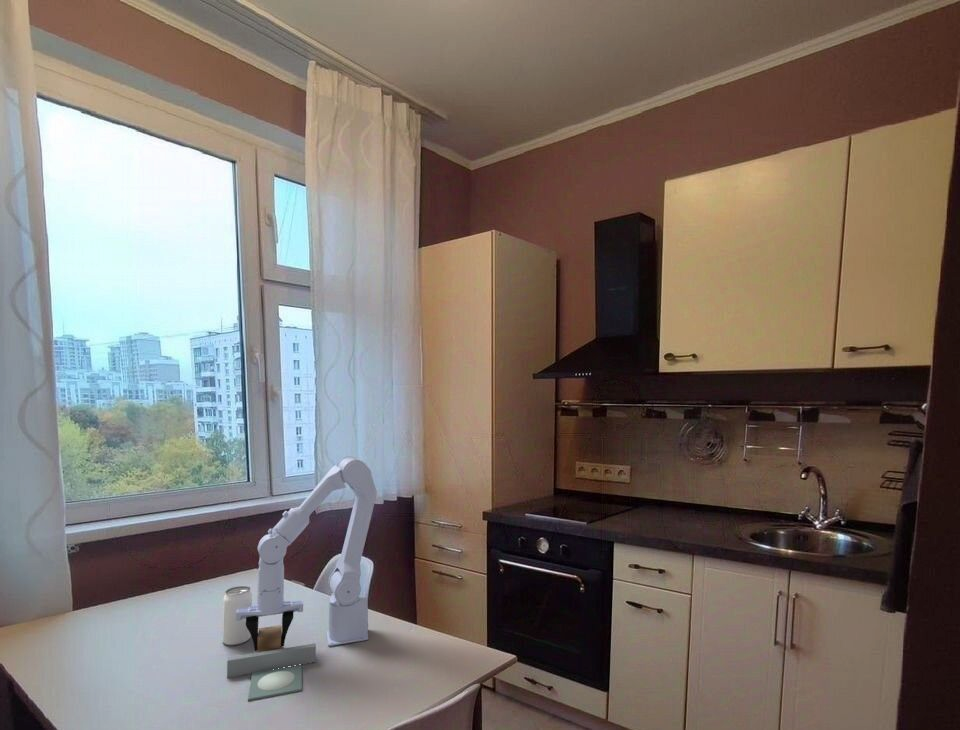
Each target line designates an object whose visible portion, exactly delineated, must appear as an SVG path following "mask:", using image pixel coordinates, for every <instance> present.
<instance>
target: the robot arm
mask: <svg viewBox="0 0 960 730" xmlns="http://www.w3.org/2000/svg"><path fill="white" fill-rule="evenodd" d="M345 484H347V485H348V486H349V488H350V489H351V491H352V492H353V494H354V495H355V498H354V502H353V506H352V511H351V513H350V517H349V518H350V519H349V522H348V525H347V530H346V534H345V537H344V543H343V546H342V550H341V553H340V558H339V559H338V560H337V562H336V564H335V568H334V569H333V570H332V571H333V572H331V574H330V575H329V578H328V582H327V583H328V588H329V589H330V591H332V592H331V595H330V597H329V599H328V603H329V604H328V630H326V634H325V635H326V642H327V646H328V647H331V646H332V647H333V646H339V645H345V644H350V643H355V642H356V643H357V642H363V641H368V640H369V612H368V611H369V610H368V608H369V607H368V599H367V597H362V596H360V595H361V591H362V588H361V583H360V582H361V575H362V573H361V572H362V571H361V560H362V557H363V552H364V548H365V543H366V539H367V536H368V535H367V534H368V533H369V532H368V531H369V528H370V523H371V519H372V515H373V510H374V507H375V503H376V498H377V489H376V488H377V487H376V485H375V483H374V479H373V475H372V470H371V469H370V468H369V467H368V465H367V464H366V463H365V462H364V461H362V460H360V459H357V458H356V457H354V456H344V457H342V458H341V459H339V461H338V462H337V463H336V465H335V464H334V465H333V466H332V467H331V468H330V469H329V470H328V472H327V473H326V474H325V475H324V476H323V477H322V479H321V480H320V481H319V482H318V484H317V485H316V487H314V489H313V490H312V491H311V492H310V493H309V494H308V495H307V497H305V499H304V500H303V502H302V503H301V504H300V505H299V506H297V507H291V508H290V509H289V510H288V511H287V510H285V511H284V512H283V513H282V517H281V519H280V520H279V521H278V522H277V523H276V525H275V526H273V528H271V527H270V528H269V529H268V531H267V534H265V535H263V537H261V539H260V540H259V542H258V545H257V547H256V548H257V552H258V555H259V561H258V569H257V604H255V605H252V606H251V607H247V608H242V609H237V611H236V621H240V620H241V619H246V627H247V629H248V630H249V632H250V634H251V637H250V638H251V639H252V642H253V649H254V651H255V652H256V651H257V642H258V632H259V618H260V617H266V616H275V615H280V614H282V615H281V625H282V636H281V648H282V647H285V641H286V637H287V634H288V632H289V629H290V626H291V624H292V621H293V619H294V613H296V612H298V613H303V612H304V600H295V601H290V600H287V601H285V600H284V599H285V597H284V594H285V593H284V592H285V591H284V590H285V565H284V557H285V556H286V554H287V549H288V547H289V546H291V545H292V543H293V542H294V541H295V540H296V539H297V537H299V535H300V534H302V533H303V531H304V530H305V528H306V527H307V526H308V525H309V524H310V515H311V514H312V513H313V512H314V511H315V510H316V509H317V508H319V506H320V505H321V504H322V503H323V502H324V501H325V500H326V499H327V498H328V497H329V496H330V494H332V493H333V491H337V490H341V489H344V488H347V487H346V485H345Z"/></svg>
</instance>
